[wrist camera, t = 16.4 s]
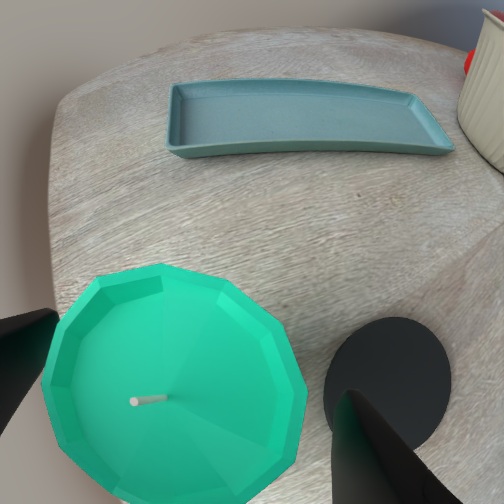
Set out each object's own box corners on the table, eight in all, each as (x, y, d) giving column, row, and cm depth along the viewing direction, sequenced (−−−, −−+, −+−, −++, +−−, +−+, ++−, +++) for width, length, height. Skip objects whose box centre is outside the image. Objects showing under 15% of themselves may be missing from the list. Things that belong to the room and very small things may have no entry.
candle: (136, 369, 15) (-25, 319, 4) (224, 317, 16) (202, 175, 6) (193, 458, 13) (111, 579, 2) (285, 404, 14) (398, 440, 4)
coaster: (402, 477, 12) (406, 479, 11) (291, 416, 14) (293, 417, 14) (462, 360, 15) (467, 359, 15) (371, 292, 17) (375, 289, 17)
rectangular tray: (409, 105, 27) (416, 90, 25) (448, 163, 24) (459, 147, 21) (173, 103, 25) (169, 83, 22) (169, 173, 21) (163, 149, 18)
